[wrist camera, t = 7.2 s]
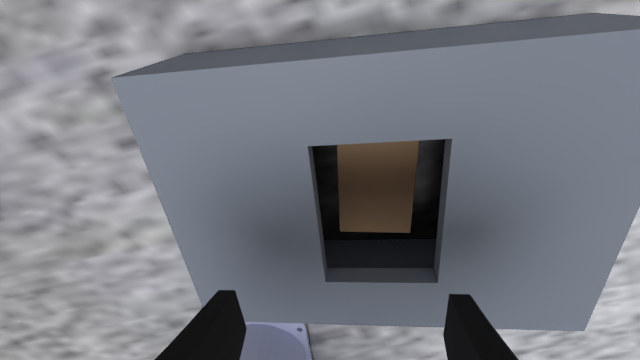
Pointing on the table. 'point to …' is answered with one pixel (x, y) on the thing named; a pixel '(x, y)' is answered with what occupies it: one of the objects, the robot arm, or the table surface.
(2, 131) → the table surface
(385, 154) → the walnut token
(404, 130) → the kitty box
